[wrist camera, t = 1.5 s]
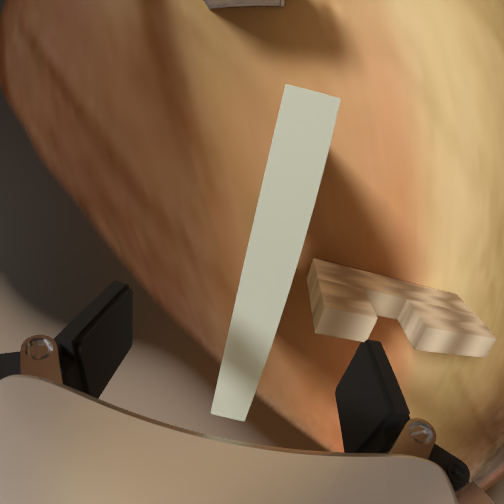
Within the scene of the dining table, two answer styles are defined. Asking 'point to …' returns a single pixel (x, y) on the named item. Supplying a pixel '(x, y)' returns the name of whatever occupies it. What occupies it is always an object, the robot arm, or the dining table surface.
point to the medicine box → (242, 3)
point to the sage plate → (275, 242)
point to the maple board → (393, 310)
